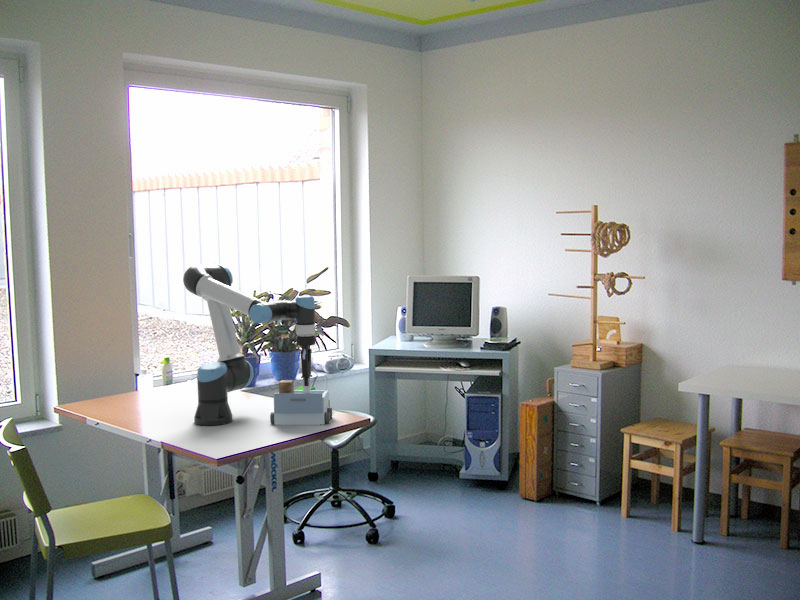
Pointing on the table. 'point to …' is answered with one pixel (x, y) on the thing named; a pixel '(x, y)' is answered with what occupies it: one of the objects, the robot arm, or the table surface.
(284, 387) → the brown wooden block
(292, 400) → the tailgate
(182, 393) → the table surface
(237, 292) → the robot arm
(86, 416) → the table surface
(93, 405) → the table surface
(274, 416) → the truck bed
